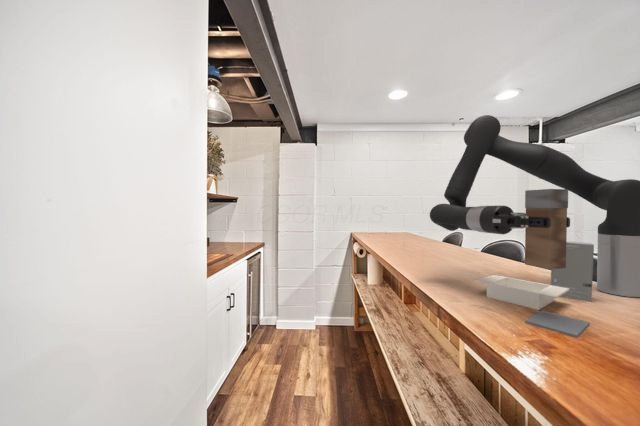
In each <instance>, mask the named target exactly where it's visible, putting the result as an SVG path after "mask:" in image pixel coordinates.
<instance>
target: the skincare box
mask: <svg viewBox="0 0 640 426" xmlns="http://www.w3.org/2000/svg"><path fill="white" fill-rule="evenodd" d="M594 247H595V244H593V243H591V242H581V241H571V240H566V268H560V269H550V284H549V285H552V286H558V287H563V288H569V289H570V290H569V291H567V292H566V293H564V294H562V295H561V296H559V297H558V298H563V299H568V300H569V299H570V300H575V301H576V300H577V301H583V302H590V303H592V296H593V295H592V293H593V291H592V290H593V274H594V273H593V272H594V254H595V253H594V252H595V248H594Z"/></svg>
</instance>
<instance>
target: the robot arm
mask: <svg viewBox="0 0 640 426" xmlns="http://www.w3.org/2000/svg"><path fill="white" fill-rule="evenodd" d="M500 132H501V122H500V121H499V119H498V118H497V117H495V116H494V115H490V114H485V115H482V116H479V117H477V118H475V119H474V120H473V121H472V122H471V123H470V125H469V126H468V128H467V129H466V131H465V133H464V135H463V141H464V143H465V145H466V147H465V149H464V152H463V154H462V156H461V158H460V160H459V162H458V163H457V165H456V168H455V169H454V171H453V172H452V174H451V177H450V179H449V182H448V183H447V186H446V189H445V190H444V194H443V197H444V199H446V201H448V202H449V203H439V204H436V205H434V206H433V207H432V208H431V210H430V211H429V218H430V220H431V222H432V223H433V224H435V225H437V226H440V227H441V228H443V229H445V230H447V231H451V232H452V231H453V232H454V231H457V230H458V229H461V230H464V231H465V230H466V231H473V232H474V231H475V232H480V233H484V234H497V235H507V234H509V233H510V232H512V231H513V229H514V230H515V229H521V230H522V229H525V228H528V227H541V228H549V227H550V226H551V219H550V218H549V217H530V216H526V212H514V210H513V209H512V208H511V207H510V206H508V205H480V206H479V205H478V206H467V199H468V197H469V195H470V191H471V190H472V188H473V185H474V182H475V180H476V177H477V175H478V172H479V170H480V167H481V165H482V163H483V161H484V159H485V157H486V155H487V156H491V157H493V158H496V159H499V160H500V161H503V162H505V163H507V164H509V165H511V166H513V167H515V168H517V169H519V170H522V171H524V172H526V173H527V174H530V175H532V176H534V177H536V178H538V179H540V180H543V181H545V182H548V183H549V184H552V185H555V186H556V187H558V188H560V189H568V192H569V191H570V192H571V193H573V194H575V195H576V196H579V197H580V198H581V199H584V200H585V201H587V202H589V203H590V204H592V205H593V206H594V207H596V208H599V209H601V210H602V211H603V210H604V211H606V217H605V219H604V221H603V222H601V223H599V224H598V226H597V255H596V256H597V261H596V262H597V264H596V265H597V269H596V270H597V271H596V272H597V273H596V274H597V275H596V289H597V291H600V292H603V293H606V294H611V295H614V296H615V295H616V296H622V297H629V298H640V180H638V179H634V178H633V179H632V178H630V179H619V180H609V179H606V178H603V177H600V176H598V175H595V174H593V173H591V172H588V171H587V170H585V169H584V168H583V167H582V166H581V165H579V164H578V163H577V162H576V161H575V159H573V158H572V157H570V156H569V155H567V154H565V153H563V152H562V151H558V150H557V149H554V148H552V147H549V146H547V145H543V144H539V143H531V142H520V141H516V140H515V141H514V140H511V139H508V138H505V137H503V136H501V135H500ZM570 226H571V218H570V217H568V216H567V228H569V227H570Z"/></svg>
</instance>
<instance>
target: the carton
mask: <svg viewBox="0 0 640 426" xmlns="http://www.w3.org/2000/svg"><path fill="white" fill-rule="evenodd" d="M474 282H475V283H481V284H485V285H486V298H489V299H493V300H497V301H501V302H506V303H509V304H513V305H518V306H521V307H526V308H529V309H533V310H537V311H538V310H540V311H541V309H543V308H544V307H546V306H548V305H550V304H551V303H553V302H554V301H555V299H557V298H560V297H559V296H561V295H562V294H564V293H566V292H567V291H569V290H570V289H569V288H563V287H558V286H552V285H550V284H546V283H542V282H541V283H540V282H536V281H530V280H524V279H520V278H513V277H508V276H501V275H497V274H492V275H488V276H485V277H482V278H478V279H475V280H474Z"/></svg>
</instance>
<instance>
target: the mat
mask: <svg viewBox="0 0 640 426" xmlns="http://www.w3.org/2000/svg"><path fill="white" fill-rule="evenodd" d="M524 323H525V324H528V325H531V326H536V327H538V328H542V329H546V330H549V331H552V332H556V333H558V334H563V335H566V336H569V337H573V338H576V339H577V338H578V337H579V336H580V335H581V334H582V333H583V332H585V330H586V329H587V328H588V327H589V326H590V322H589V321H586V320H582V319H577V318H575V317H574V318H573V317H568V316H565V315H561V314H557V313H553V312H549V311H546V310H545V311H544V310H541V309H540V311H538V312H537V313H535V314H533V315H532V316H529V317H528V318H527V319H524Z"/></svg>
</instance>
